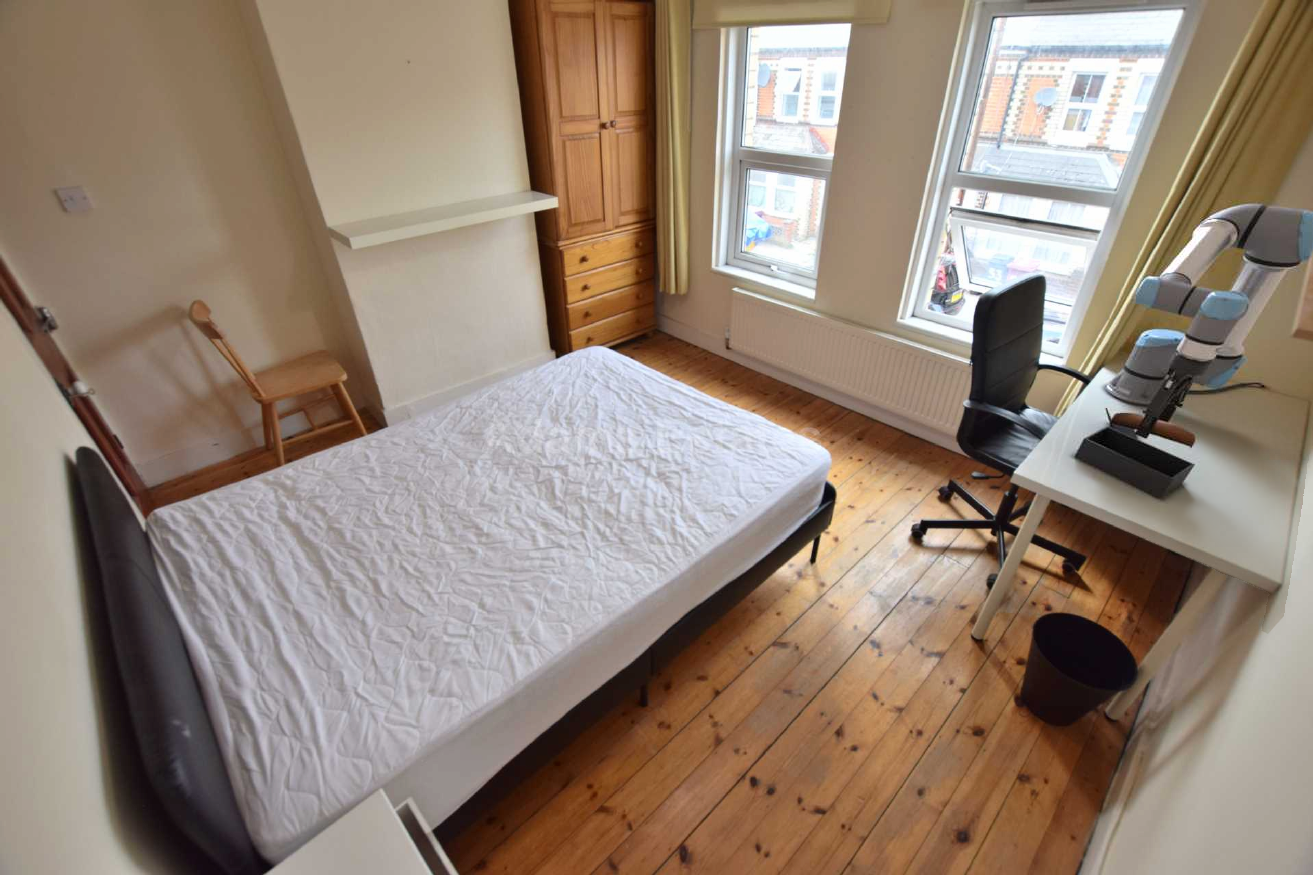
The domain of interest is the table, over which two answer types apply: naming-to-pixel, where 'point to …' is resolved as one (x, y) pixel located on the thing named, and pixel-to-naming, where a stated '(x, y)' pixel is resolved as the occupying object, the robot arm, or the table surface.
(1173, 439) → the sunglasses case
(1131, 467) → the bin
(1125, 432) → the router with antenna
